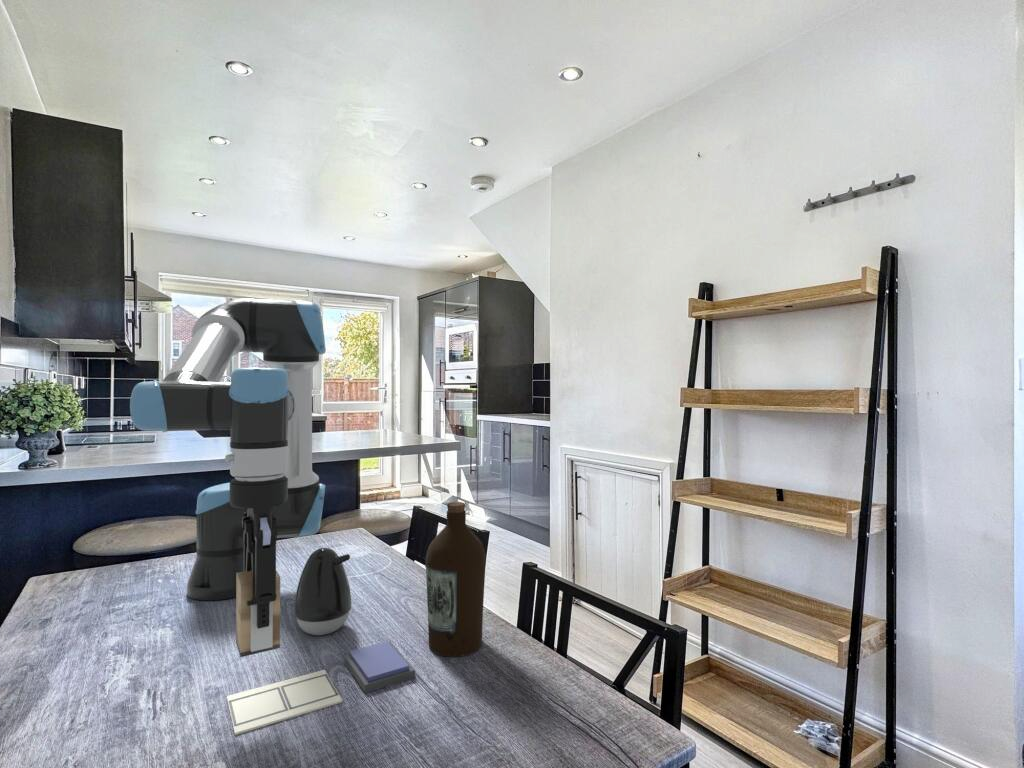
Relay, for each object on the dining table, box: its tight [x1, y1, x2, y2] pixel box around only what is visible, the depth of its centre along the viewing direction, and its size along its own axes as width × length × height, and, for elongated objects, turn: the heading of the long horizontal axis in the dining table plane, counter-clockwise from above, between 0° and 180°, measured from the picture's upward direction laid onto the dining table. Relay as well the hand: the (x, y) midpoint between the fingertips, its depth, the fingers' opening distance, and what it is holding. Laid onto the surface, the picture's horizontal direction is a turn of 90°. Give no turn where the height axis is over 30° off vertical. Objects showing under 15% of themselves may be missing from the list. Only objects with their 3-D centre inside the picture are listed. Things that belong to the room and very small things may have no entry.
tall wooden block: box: [235, 570, 281, 658], centre depth 78 cm, size 5×5×10 cm
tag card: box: [226, 669, 343, 736], centre depth 80 cm, size 10×14×1 cm
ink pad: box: [343, 641, 416, 694], centre depth 89 cm, size 11×8×2 cm
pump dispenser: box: [293, 547, 352, 636], centre depth 103 cm, size 10×10×15 cm
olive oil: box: [424, 501, 487, 658], centre depth 97 cm, size 11×11×25 cm
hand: (258, 639), depth 78 cm, fingers closed on tall wooden block, 5 cm apart
